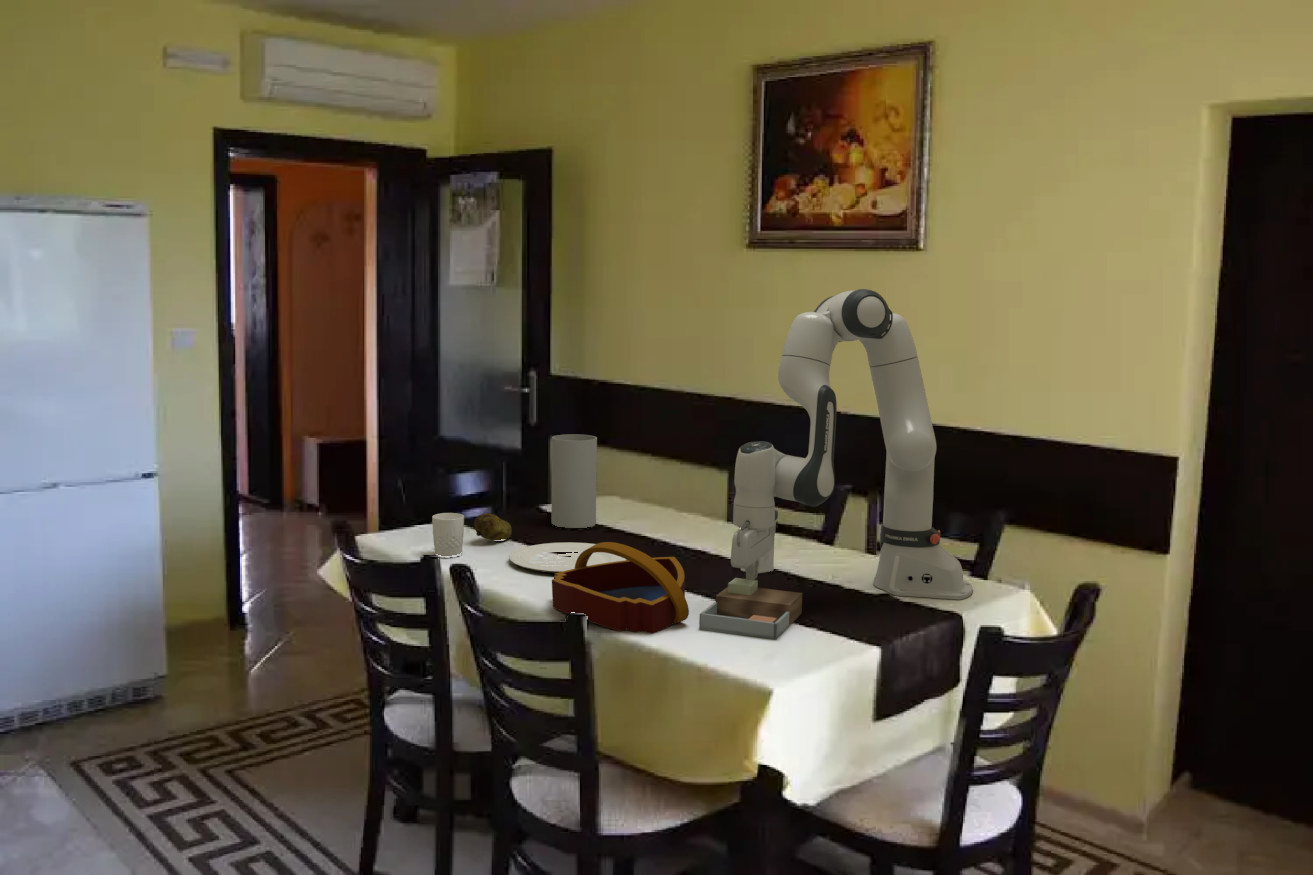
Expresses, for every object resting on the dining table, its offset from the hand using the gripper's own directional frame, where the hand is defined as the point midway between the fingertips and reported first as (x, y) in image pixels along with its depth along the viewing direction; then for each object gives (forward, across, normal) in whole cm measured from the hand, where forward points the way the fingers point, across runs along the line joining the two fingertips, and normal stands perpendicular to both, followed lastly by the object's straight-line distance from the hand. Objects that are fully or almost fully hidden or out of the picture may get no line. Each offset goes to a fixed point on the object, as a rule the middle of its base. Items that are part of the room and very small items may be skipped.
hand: (751, 579), depth 258 cm
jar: (+6, +29, +8) cm, 31 cm away
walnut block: (+6, -8, -4) cm, 10 cm away
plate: (+6, +15, +52) cm, 54 cm away
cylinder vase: (+6, +53, +69) cm, 87 cm away
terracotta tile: (+3, -19, -8) cm, 21 cm away
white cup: (+6, +8, +82) cm, 83 cm away
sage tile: (+1, -7, 0) cm, 7 cm away
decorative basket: (+6, -16, +23) cm, 29 cm away
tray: (+6, -18, -4) cm, 19 cm away
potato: (+6, +26, +79) cm, 84 cm away
